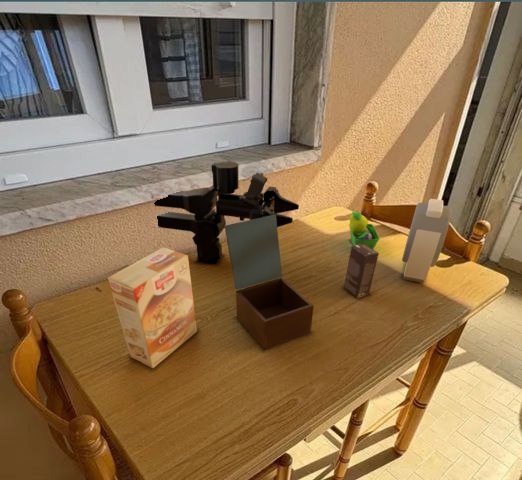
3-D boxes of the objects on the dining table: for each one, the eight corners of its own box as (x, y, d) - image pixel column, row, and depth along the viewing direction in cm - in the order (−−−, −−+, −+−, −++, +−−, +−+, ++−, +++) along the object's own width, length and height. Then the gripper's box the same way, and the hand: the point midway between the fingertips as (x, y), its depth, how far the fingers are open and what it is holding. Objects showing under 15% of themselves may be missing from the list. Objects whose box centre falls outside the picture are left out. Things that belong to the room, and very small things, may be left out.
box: (370, 294, 101) (379, 252, 93) (356, 298, 99) (364, 256, 91) (356, 283, 105) (364, 242, 97) (342, 287, 103) (350, 246, 95)
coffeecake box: (153, 369, 79) (133, 288, 66) (128, 356, 81) (104, 277, 69) (199, 331, 88) (189, 254, 75) (175, 321, 91) (162, 245, 78)
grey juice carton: (427, 290, 102) (453, 217, 89) (395, 284, 104) (415, 211, 91) (431, 261, 115) (454, 192, 101) (402, 255, 117) (421, 188, 104)
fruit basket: (376, 254, 117) (384, 219, 110) (348, 254, 117) (354, 218, 110) (369, 238, 126) (376, 204, 119) (342, 238, 126) (348, 204, 119)
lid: (275, 214, 85) (274, 214, 85) (225, 225, 80) (224, 225, 81) (282, 276, 91) (280, 275, 92) (236, 289, 87) (235, 289, 87)
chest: (310, 332, 88) (313, 305, 83) (264, 349, 84) (264, 321, 78) (280, 304, 97) (281, 277, 92) (236, 318, 92) (235, 290, 87)
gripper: (226, 186, 90) (291, 194, 87) (248, 164, 103) (304, 170, 101) (228, 231, 97) (288, 239, 95) (247, 205, 111) (300, 211, 108)
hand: (295, 213), depth 99 cm, fingers open, 9 cm apart
